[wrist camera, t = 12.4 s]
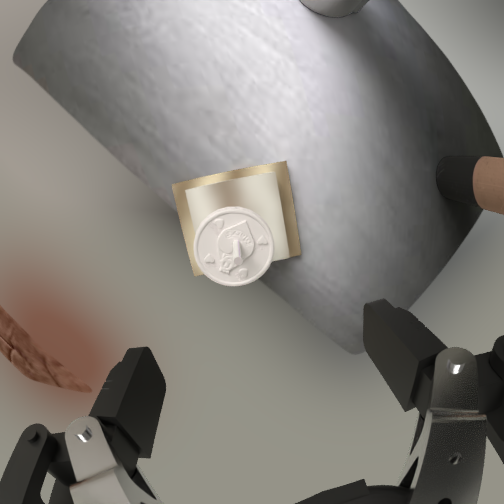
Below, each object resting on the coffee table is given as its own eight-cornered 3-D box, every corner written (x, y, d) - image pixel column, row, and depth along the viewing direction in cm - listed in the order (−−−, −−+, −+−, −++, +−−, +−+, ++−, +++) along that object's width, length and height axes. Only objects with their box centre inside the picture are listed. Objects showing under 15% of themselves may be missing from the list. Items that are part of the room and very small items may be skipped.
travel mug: (466, 167, 34) (557, 180, 15) (457, 207, 36) (548, 236, 17) (440, 146, 33) (540, 150, 14) (430, 190, 35) (532, 214, 16)
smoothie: (271, 209, 30) (303, 241, 17) (248, 261, 32) (260, 326, 18) (217, 187, 29) (204, 200, 16) (195, 240, 30) (170, 294, 17)
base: (284, 161, 33) (291, 160, 29) (299, 252, 36) (307, 262, 32) (173, 183, 32) (165, 185, 28) (195, 273, 36) (191, 285, 32)
